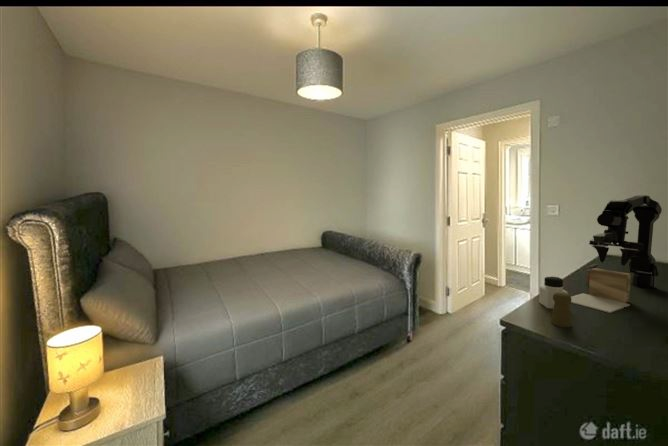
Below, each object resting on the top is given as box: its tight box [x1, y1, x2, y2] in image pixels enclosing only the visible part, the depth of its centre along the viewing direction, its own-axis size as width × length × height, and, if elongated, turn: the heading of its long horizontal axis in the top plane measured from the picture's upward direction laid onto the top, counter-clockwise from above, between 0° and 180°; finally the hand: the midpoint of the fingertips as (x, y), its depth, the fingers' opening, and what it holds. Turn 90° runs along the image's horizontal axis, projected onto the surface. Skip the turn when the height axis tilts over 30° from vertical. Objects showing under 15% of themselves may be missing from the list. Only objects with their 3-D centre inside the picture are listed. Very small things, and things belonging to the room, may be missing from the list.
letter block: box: [588, 267, 631, 304], centre depth 125 cm, size 4×12×12 cm, turn 25°
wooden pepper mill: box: [550, 293, 573, 328], centre depth 102 cm, size 6×6×11 cm
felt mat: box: [570, 292, 631, 314], centre depth 121 cm, size 16×16×1 cm
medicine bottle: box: [538, 275, 569, 310], centre depth 118 cm, size 7×7×12 cm
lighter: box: [586, 263, 598, 286], centre depth 145 cm, size 8×3×10 cm, turn 118°
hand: (612, 263), depth 126 cm, fingers open, 9 cm apart
